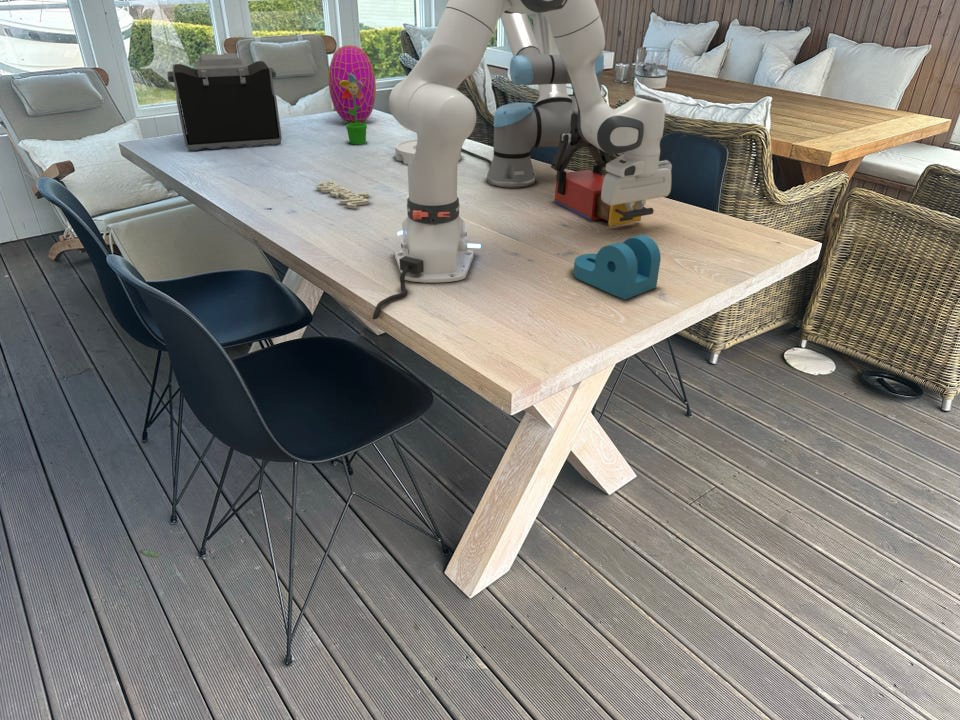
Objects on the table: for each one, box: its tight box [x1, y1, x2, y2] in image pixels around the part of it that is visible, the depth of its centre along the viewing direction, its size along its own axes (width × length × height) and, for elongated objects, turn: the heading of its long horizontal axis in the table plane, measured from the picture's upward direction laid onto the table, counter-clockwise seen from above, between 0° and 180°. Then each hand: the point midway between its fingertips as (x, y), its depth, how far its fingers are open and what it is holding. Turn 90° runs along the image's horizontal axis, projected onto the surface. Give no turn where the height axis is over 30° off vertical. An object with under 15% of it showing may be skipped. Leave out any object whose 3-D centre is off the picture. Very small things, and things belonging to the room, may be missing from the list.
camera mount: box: [573, 234, 662, 301], centre depth 150 cm, size 18×10×10 cm, turn 39°
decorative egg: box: [328, 44, 377, 124], centre depth 286 cm, size 19×19×30 cm
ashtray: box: [394, 138, 462, 165], centre depth 243 cm, size 23×23×4 cm
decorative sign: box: [316, 180, 370, 210], centre depth 205 cm, size 26×1×10 cm
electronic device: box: [166, 52, 283, 152], centre depth 253 cm, size 37×22×30 cm, turn 111°
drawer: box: [595, 194, 655, 227], centre depth 186 cm, size 22×10×6 cm, turn 27°
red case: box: [553, 169, 605, 222], centre depth 195 cm, size 19×11×8 cm, turn 27°
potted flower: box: [339, 73, 368, 145], centre depth 255 cm, size 9×8×25 cm
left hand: (633, 216), depth 180 cm, fingers closed, pressing on drawer
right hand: (578, 191), depth 199 cm, fingers closed on red case, 11 cm apart
